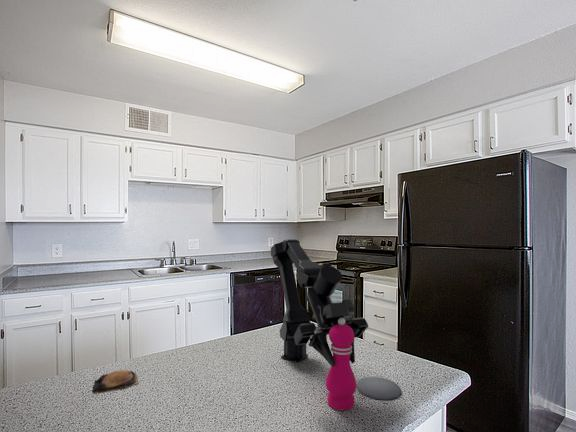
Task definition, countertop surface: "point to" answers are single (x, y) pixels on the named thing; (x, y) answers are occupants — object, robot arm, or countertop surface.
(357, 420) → the countertop surface
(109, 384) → the brown oval lump
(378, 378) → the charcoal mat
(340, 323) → the pepper mill
